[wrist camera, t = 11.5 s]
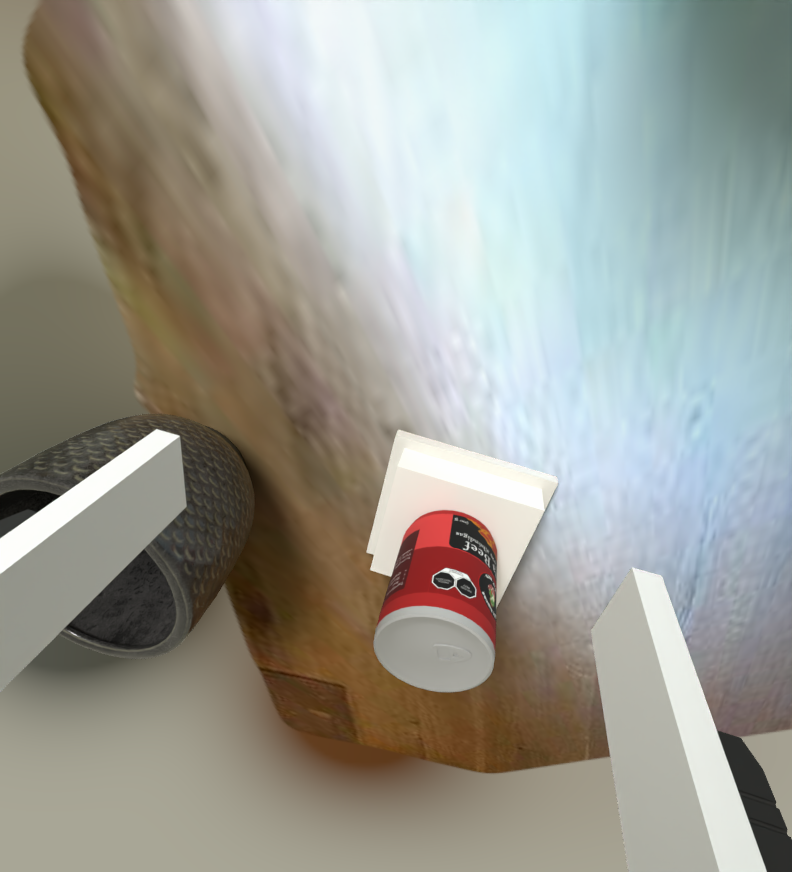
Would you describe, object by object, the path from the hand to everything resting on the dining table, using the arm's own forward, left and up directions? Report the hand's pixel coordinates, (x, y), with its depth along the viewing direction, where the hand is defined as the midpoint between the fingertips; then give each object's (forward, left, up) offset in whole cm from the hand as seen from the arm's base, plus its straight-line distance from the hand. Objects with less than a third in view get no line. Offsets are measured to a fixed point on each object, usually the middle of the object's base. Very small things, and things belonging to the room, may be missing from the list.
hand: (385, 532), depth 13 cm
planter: (+20, -20, -25) cm, 38 cm away
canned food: (+17, +5, -21) cm, 27 cm away
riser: (+17, +5, -24) cm, 30 cm away
